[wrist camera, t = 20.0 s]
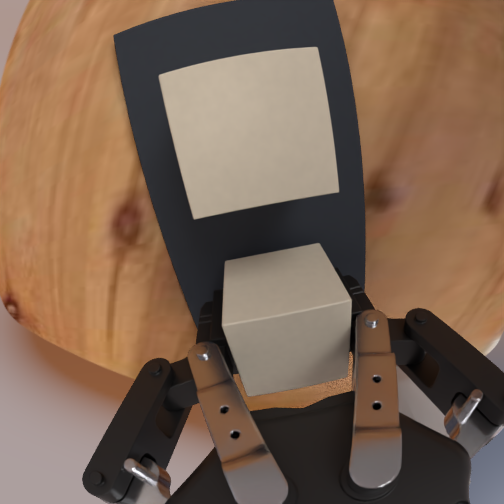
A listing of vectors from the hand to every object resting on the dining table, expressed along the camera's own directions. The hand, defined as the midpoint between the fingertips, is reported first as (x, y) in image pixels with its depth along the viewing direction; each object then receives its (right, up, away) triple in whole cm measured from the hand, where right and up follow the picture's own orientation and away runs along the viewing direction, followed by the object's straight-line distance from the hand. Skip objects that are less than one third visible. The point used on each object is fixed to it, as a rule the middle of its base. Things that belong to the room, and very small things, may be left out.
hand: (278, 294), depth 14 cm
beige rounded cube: (-1, +7, -3) cm, 8 cm away
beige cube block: (0, 0, 0) cm, 0 cm away
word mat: (-1, +4, 0) cm, 4 cm away
